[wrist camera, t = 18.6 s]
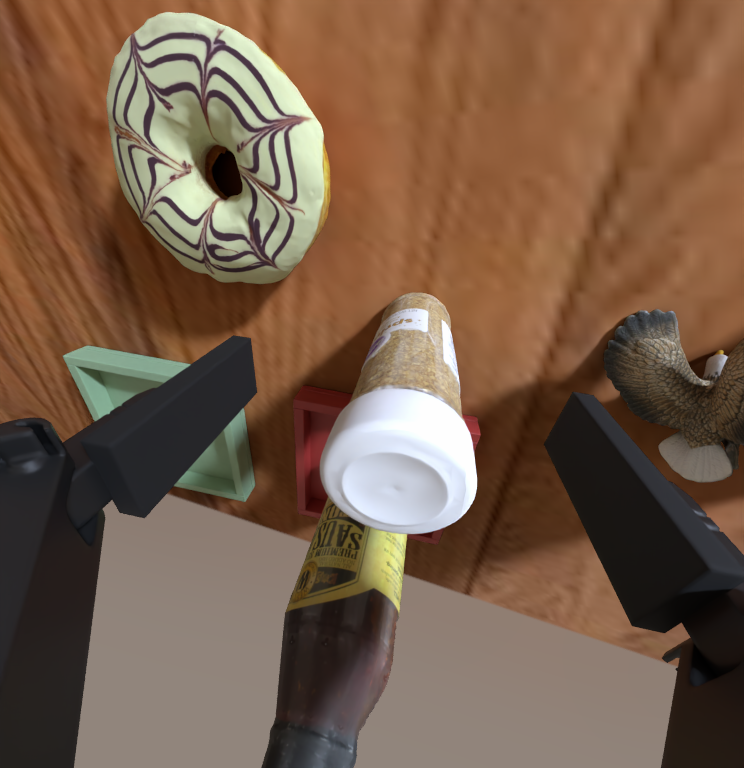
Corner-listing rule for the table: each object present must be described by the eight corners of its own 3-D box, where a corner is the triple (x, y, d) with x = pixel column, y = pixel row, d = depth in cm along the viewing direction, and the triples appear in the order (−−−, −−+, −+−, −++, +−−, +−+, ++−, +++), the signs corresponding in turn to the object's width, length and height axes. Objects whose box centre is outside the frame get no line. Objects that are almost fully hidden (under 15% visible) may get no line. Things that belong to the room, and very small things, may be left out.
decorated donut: (312, 300, 20) (289, 318, 17) (158, 237, 20) (105, 243, 16) (362, 100, 14) (342, 71, 11) (149, 5, 14) (65, -53, 11)
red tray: (303, 384, 24) (292, 399, 22) (477, 416, 22) (481, 434, 21) (305, 496, 31) (297, 513, 29) (437, 524, 30) (437, 545, 28)
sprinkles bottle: (394, 280, 18) (335, 401, 7) (463, 306, 19) (515, 466, 7) (372, 344, 21) (302, 510, 10) (433, 366, 21) (436, 558, 10)
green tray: (87, 345, 25) (61, 355, 24) (238, 372, 24) (223, 386, 22) (137, 459, 32) (120, 474, 31) (255, 485, 31) (245, 502, 30)
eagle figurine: (835, 373, 16) (804, 255, 12) (874, 507, 13) (847, 402, 10) (648, 391, 22) (593, 316, 19) (647, 484, 19) (580, 416, 16)
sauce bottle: (376, 427, 24) (245, 961, 7) (428, 473, 25) (422, 998, 9) (326, 462, 27) (150, 892, 10) (375, 501, 28) (293, 929, 12)
